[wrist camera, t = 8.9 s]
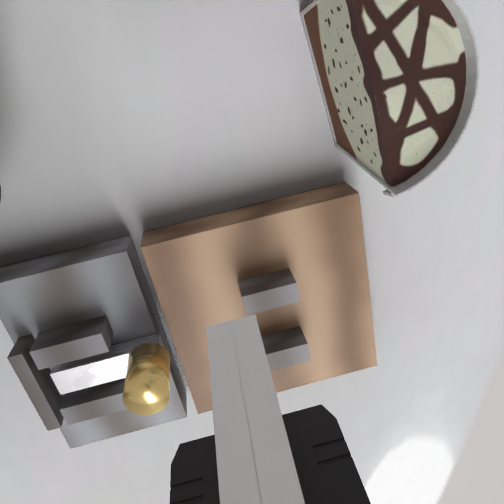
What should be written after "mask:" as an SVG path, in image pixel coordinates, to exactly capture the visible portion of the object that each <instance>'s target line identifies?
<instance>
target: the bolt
mask: <svg viewBox="0 0 504 504" xmlns="http://www.w3.org/2000/svg"><path fill="white" fill-rule="evenodd" d="M50 376H51V378H52V379H53V381H54V383H55V385H56V387H57V389H58V391H59V393H60V395H62V394H66V393H70V392H73V391H77V390H81V389H85V388H88V387H92V386H96V385H100V384H103V383H107V382H111V381H115V380H119V379H122V378H125V384H124V390H123V397H122V399H123V403H124V405H125V407H126V408H127V409H128V410H129V411H131V412H132V413H135V414H138V415H152V414H155V413H158V412H160V411H161V410H162V409H164V408H165V407H166V405H167V404H168V401H169V391H170V355H169V353H168V351H167V350H166V349H165V347H164V344H163V341H162V338H161V336H160V333H158V334H154V335H150V336H146V337H143V338H139V339H135V340H131V341H127V342H123V343H120V344H116V345H112V346H110V350H109V352H106V353H102V354H98V355H94V356H91V357H87V358H83V359H79V360H75V361H71V362H68V363H64V364H60V365H56V366H53V367H52V370H51V372H50Z"/></svg>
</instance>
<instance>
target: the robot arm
mask: <svg viewBox="0 0 504 504" xmlns="http://www.w3.org/2000/svg"><path fill="white" fill-rule="evenodd" d="M206 330H207V343H208V356H209V369H210V381H211V394H212V407H213V420H214V433H215V435H212V436H208V437H204V438H201V439H197V440H193V441H189V442H186V443H182V444H180V445H179V448H178V450H177V452H176V454H175V457H174V459H173V461H172V464H171V482H170V486H171V490H170V504H371V503H370V501H369V498H368V496H367V493H366V491H365V489H364V486H363V484H362V481H361V479H360V476H359V474H358V471H357V469H356V466H355V464H354V461H353V459H352V457H351V454H350V451H349V449H348V446H347V444H346V441H345V440H344V437H343V434H342V432H341V429H340V427H339V424H338V422H337V419H336V418H335V417H334V416H333V415H332V414H331V413H330V412H329V411H328V410H327V409H326V408H325V407H324V406H322V405H318V406H314V407H310V408H307V409H303V410H299V411H295V412H292V413H288V414H284V415H282V414H281V410H280V407H279V403H278V399H277V395H276V391H275V387H274V384H273V380H272V376H271V372H270V368H269V365H268V361H267V357H266V353H265V349H264V345H263V342H262V338H261V334H260V330H259V326H258V323H257V319H256V315H255V314H253V315H250V316H246V317H242V318H238V319H234V320H231V321H227V322H223V323H219V324H215V325H212V326H208V327H206Z"/></svg>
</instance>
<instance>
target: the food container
mask: <svg viewBox="0 0 504 504" xmlns="http://www.w3.org/2000/svg"><path fill="white" fill-rule="evenodd" d="M300 16H301V20H302V24H303V27H304V31H305V35H306V39H307V42H308V46H309V50H310V53H311V57H312V61H313V65H314V68H315V72H316V76H317V80H318V83H319V87H320V91H321V94H322V98H323V102H324V106H325V109H326V113H327V117H328V120H329V124H330V128H331V132H332V135H333V139H334V143H335V146H336V147H337V148H339V149H340V150H341V151H342V152H343V153H344V154H346V155H347V156H348V157H349V158H350V159H352V160H353V161H354V162H355V163H356V164H358V165H359V166H360V167H361V168H362V169H364V170H365V171H366V172H367V173H368V174H370V175H371V176H372V177H373V178H374V179H376V180H377V181H378V182H379V183H380V184H382V185H383V186H384V187H385V188H386V189H387V190H385V191H383V194H385V195H388V196H392V197H393V196H395V195H396V196H398V195H400V194H402V193H404V192H406V191H408V190H410V189H412V188H413V187H415V186H416V185H418V184H419V183H421V182H422V181H424V180H425V179H426V178H427V177H429V176H430V175H431V174H432V173H433V172H434V171H436V170H437V169H438V168H439V166H440V165H441V164H442V163H443V162H444V161H445V160H446V159H447V158H448V156H449V155H450V153H451V152H452V151H453V149H454V148H455V146H456V145H457V143H458V142H459V140H460V138H461V136H462V134H463V132H464V130H465V129H466V127H467V124H468V121H469V119H470V116H471V113H472V111H473V107H474V103H475V99H476V94H477V87H478V77H479V66H478V53H477V48H476V42H475V38H474V35H473V32H472V29H471V27H470V24H469V21H468V19H467V18H466V16H465V14H464V12H463V10H462V9H461V7H460V5H459V4H458V3H457V2H456V1H455V0H314V1H313V2H312V3H311V4H309V5H308V6H307V7H306V8H305V9H304V10H302V11H301V12H300Z"/></svg>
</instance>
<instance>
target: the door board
mask: <svg viewBox="0 0 504 504" xmlns="http://www.w3.org/2000/svg"><path fill="white" fill-rule="evenodd" d="M141 250H142V253H143V256H144V259H145V262H146V265H147V268H148V270H149V273H150V276H151V279H152V282H153V285H154V288H155V291H156V293H157V296H158V299H159V302H160V305H161V308H162V311H163V314H164V317H165V319H166V322H167V325H168V328H169V331H170V334H171V337H172V340H173V343H174V345H175V348H176V351H177V354H178V357H179V360H180V363H181V366H182V368H183V371H184V374H185V377H186V380H187V383H188V386H189V389H190V392H191V394H192V397H193V400H194V403H195V406H196V409H197V412H198V414H200V413H203V412H207V411H211V410H213V407H212V394H211V381H210V369H209V356H208V343H207V330H206V327H208V326H212V325H215V324H219V323H223V322H227V321H231V320H234V319H238V318H242V317H246V316H250V315H253V314H255V315H256V319H257V323H258V326H259V330H260V334H261V338H262V342H263V345H264V349H265V353H266V357H267V361H268V365H269V368H270V372H271V376H272V380H273V384H274V387H275V391H276V393H277V392H281V391H284V390H288V389H292V388H295V387H299V386H303V385H306V384H310V383H314V382H317V381H321V380H325V379H328V378H332V377H336V376H339V375H343V374H347V373H350V372H354V371H358V370H361V369H365V368H369V367H372V366H376V365H377V359H376V349H375V340H374V330H373V321H372V311H371V302H370V292H369V283H368V273H367V264H366V254H365V245H364V235H363V226H362V216H361V207H360V197H359V193H358V192H357V191H356V190H355V189H353V188H352V187H351V186H349V185H348V184H347V183H346V182H343V183H339V184H335V185H331V186H327V187H323V188H319V189H315V190H311V191H307V192H303V193H299V194H295V195H291V196H287V197H283V198H279V199H275V200H271V201H267V202H262V203H258V204H254V205H250V206H246V207H242V208H238V209H234V210H230V211H226V212H222V213H218V214H214V215H210V216H206V217H202V218H198V219H194V220H190V221H186V222H182V223H178V224H174V225H170V226H166V227H162V228H158V229H154V230H150V231H146V232H143V237H142V243H141ZM0 319H1V320H2V322H3V324H4V326H5V328H6V330H7V331H8V333H9V335H10V337H11V339H12V341H13V343H14V344H15V345H14V347H13V348H12V350H11V352H10V354H9V356H8V357H7V358H8V360H9V362H10V363H11V365H12V367H13V369H14V371H15V372H16V374H17V376H18V378H19V380H20V381H21V383H22V385H23V387H24V389H25V390H26V392H27V394H28V396H29V398H30V399H31V401H32V403H33V405H34V407H35V408H36V410H37V412H38V414H39V416H40V417H41V419H42V421H43V423H44V425H45V426H46V428H47V430H48V431H49V430H52V429H56V428H60V430H61V432H62V434H63V435H64V437H65V439H66V441H67V443H68V445H69V447H70V448H75V447H78V446H82V445H86V444H89V443H93V442H97V441H100V440H104V439H108V438H111V437H115V436H119V435H122V434H126V433H130V432H133V431H137V430H141V429H145V428H148V427H152V426H156V425H159V424H163V423H167V422H170V421H174V420H178V419H181V418H185V417H187V406H186V391H185V388H184V385H183V383H182V380H181V377H180V374H179V371H178V368H177V366H176V363H175V360H174V357H173V354H172V351H171V349H170V346H169V343H168V340H167V337H166V334H165V332H164V329H163V326H162V323H161V320H160V317H159V315H158V312H157V309H156V306H155V303H154V300H153V298H152V295H151V292H150V289H149V286H148V283H147V281H146V278H145V275H144V272H143V269H142V266H141V264H140V261H139V258H138V255H137V252H136V249H135V247H134V244H133V241H132V238H131V235H130V236H126V237H122V238H118V239H114V240H110V241H106V242H102V243H98V244H94V245H89V246H85V247H81V248H77V249H73V250H69V251H65V252H61V253H57V254H53V255H49V256H45V257H41V258H37V259H33V260H29V261H25V262H21V263H17V264H13V265H9V266H5V267H1V268H0ZM158 333H160V336H161V338H162V341H163V344H164V347H165V349H166V350H167V351H168V353H169V355H170V391H169V401H168V404H167V405H166V407H165V408H164V409H162V410H161V411H160V412H158V413H155V414H152V415H138V414H135V413H132V412H131V411H129V410H128V409H127V408H126V407H125V405H124V403H123V399H122V397H123V390H124V384H125V378H122V379H119V380H115V381H111V382H107V383H103V384H100V385H96V386H92V387H88V388H85V389H81V390H77V391H73V392H70V393H66V394H62V395H60V393H59V391H58V389H57V387H56V385H55V383H54V381H53V379H52V378H51V376H50V372H51V370H52V367H53V366H56V365H60V364H64V363H68V362H71V361H75V360H79V359H83V358H87V357H91V356H94V355H98V354H102V353H106V352H109V350H110V346H112V345H116V344H120V343H123V342H127V341H131V340H135V339H139V338H143V337H146V336H150V335H154V334H158Z"/></svg>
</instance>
